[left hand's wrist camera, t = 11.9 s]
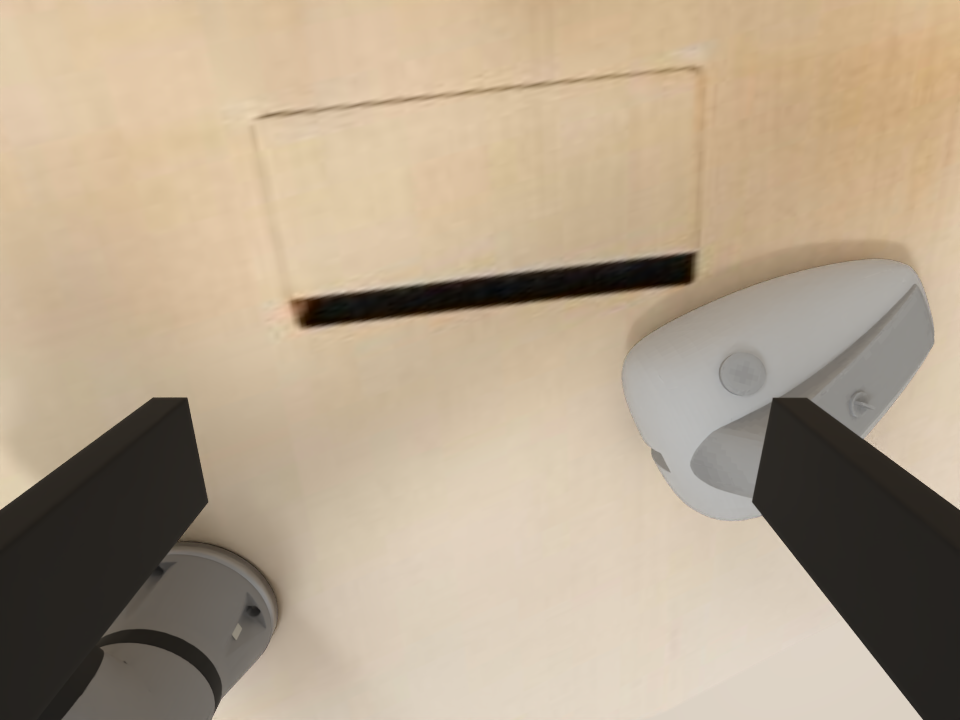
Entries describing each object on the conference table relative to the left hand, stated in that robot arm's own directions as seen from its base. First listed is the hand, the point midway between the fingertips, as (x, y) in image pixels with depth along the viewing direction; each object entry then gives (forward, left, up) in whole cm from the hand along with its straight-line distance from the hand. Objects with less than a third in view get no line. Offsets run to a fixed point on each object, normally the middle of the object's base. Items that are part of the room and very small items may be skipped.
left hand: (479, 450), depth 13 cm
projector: (+4, -25, -32) cm, 41 cm away
